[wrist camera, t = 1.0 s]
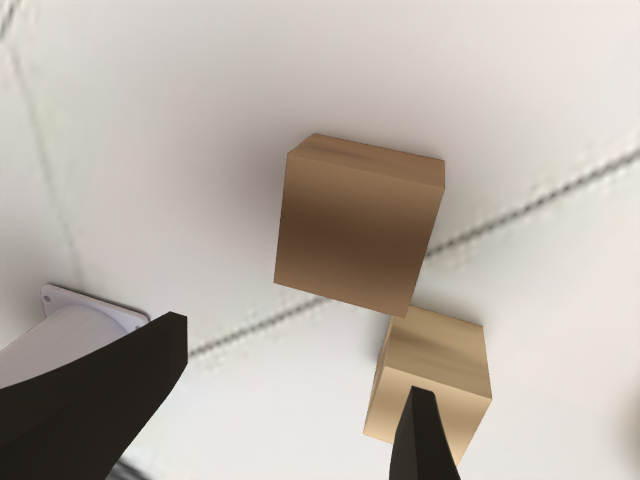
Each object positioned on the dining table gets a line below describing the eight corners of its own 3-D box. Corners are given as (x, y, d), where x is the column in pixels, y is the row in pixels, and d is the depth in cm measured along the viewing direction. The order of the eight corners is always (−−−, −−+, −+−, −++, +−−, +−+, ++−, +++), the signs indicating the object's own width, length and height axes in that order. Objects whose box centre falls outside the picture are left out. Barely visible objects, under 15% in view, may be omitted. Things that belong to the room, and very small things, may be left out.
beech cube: (455, 386, 24) (457, 466, 19) (377, 362, 24) (362, 434, 20) (482, 325, 21) (492, 399, 17) (396, 300, 22) (384, 365, 18)
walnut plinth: (411, 272, 21) (405, 318, 18) (299, 244, 22) (273, 282, 19) (444, 159, 19) (444, 188, 15) (314, 132, 19) (287, 153, 16)
